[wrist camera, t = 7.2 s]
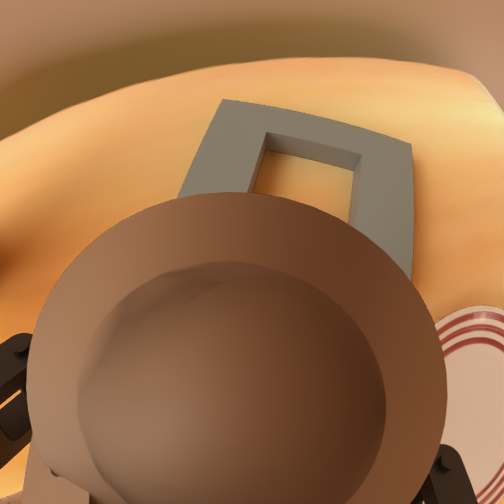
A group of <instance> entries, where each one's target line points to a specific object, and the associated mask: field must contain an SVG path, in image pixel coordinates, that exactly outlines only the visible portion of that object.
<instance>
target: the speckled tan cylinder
mask: <svg viewBox="0 0 504 504" xmlns="http://www.w3.org/2000/svg"><path fill="white" fill-rule="evenodd" d="M22 495H23V491H20V492H18V493H15V494H13V495H10V496H7V497H5V498H2V499H0V504H22Z"/></svg>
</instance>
